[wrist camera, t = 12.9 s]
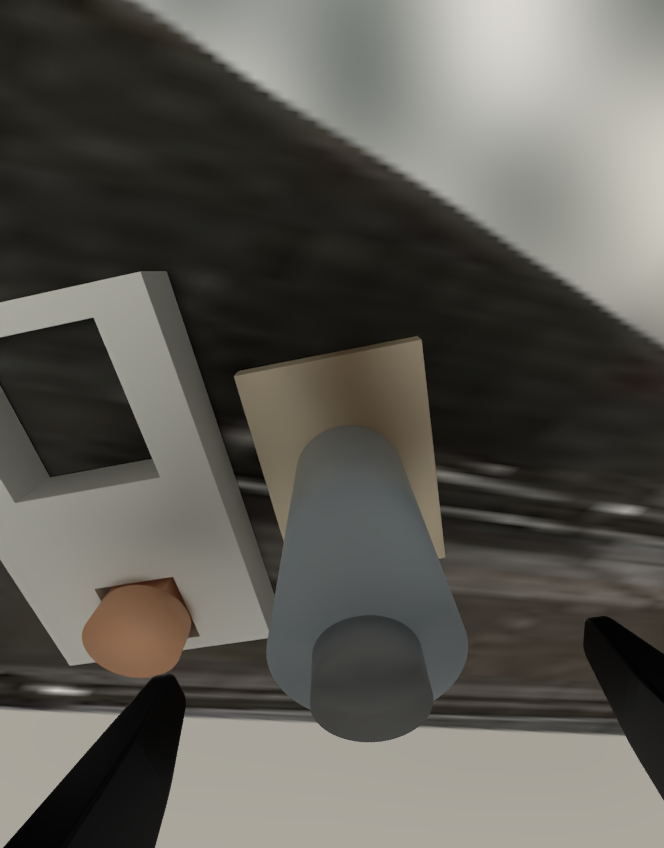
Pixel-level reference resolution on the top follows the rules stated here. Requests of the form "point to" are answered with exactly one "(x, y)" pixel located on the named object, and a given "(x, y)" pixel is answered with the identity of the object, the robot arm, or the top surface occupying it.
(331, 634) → the cylinder
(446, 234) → the top surface
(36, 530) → the white tray
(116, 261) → the top surface
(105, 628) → the plunger
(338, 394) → the pad
